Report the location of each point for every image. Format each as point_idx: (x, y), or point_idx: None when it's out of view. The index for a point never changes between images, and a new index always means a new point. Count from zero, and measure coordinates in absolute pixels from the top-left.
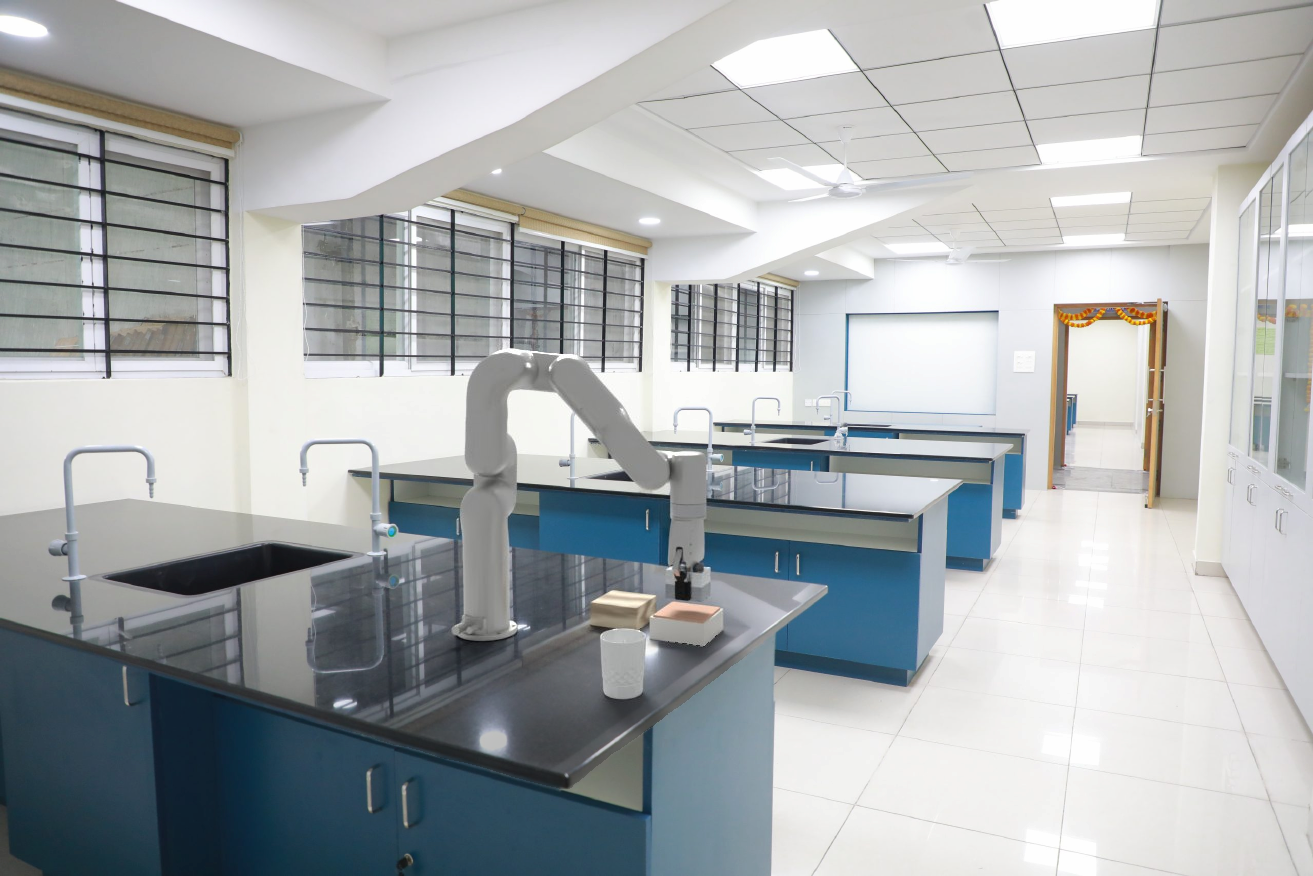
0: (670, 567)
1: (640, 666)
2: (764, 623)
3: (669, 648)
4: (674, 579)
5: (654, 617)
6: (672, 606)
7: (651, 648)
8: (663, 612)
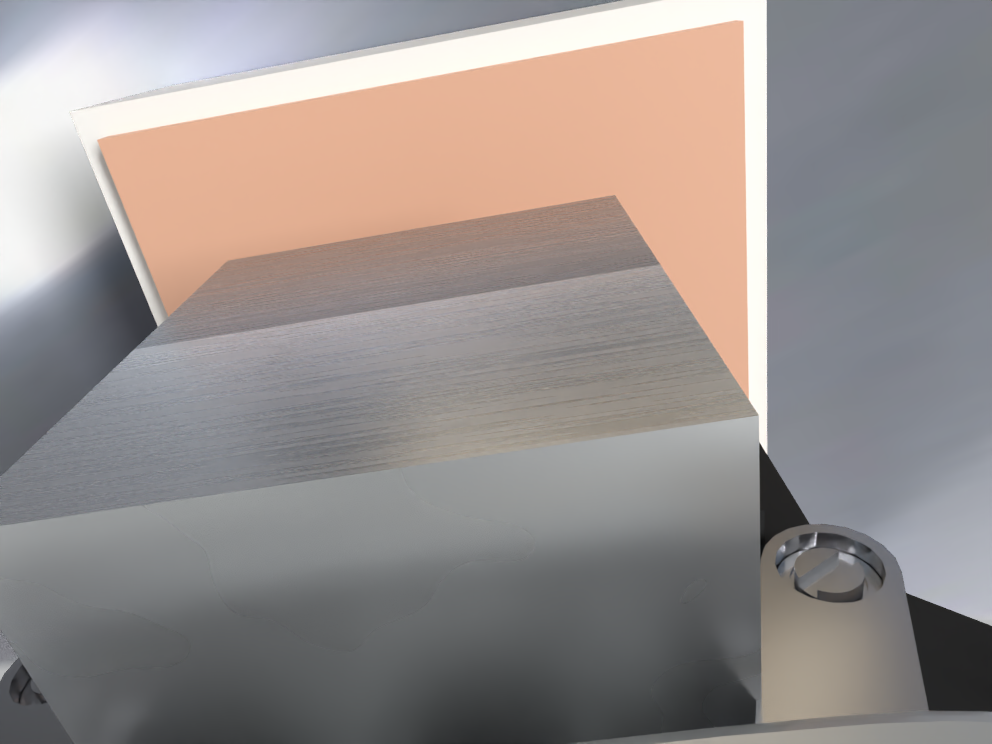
0: (258, 519)
1: None
2: (972, 582)
3: (124, 339)
4: (16, 666)
5: (99, 169)
6: (532, 151)
7: (17, 231)
8: (262, 192)
